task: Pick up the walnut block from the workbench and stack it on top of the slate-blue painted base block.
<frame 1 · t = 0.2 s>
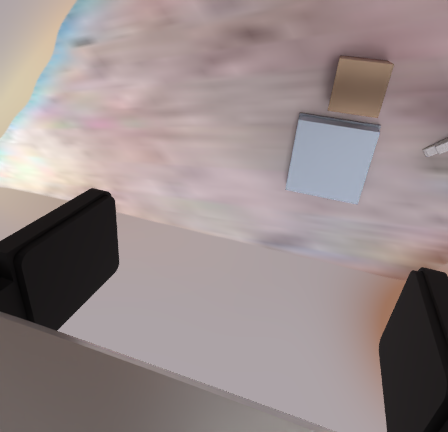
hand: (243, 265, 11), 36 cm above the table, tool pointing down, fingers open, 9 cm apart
base block: (330, 155, 44), on the table
walnut block: (357, 81, 39), on the table
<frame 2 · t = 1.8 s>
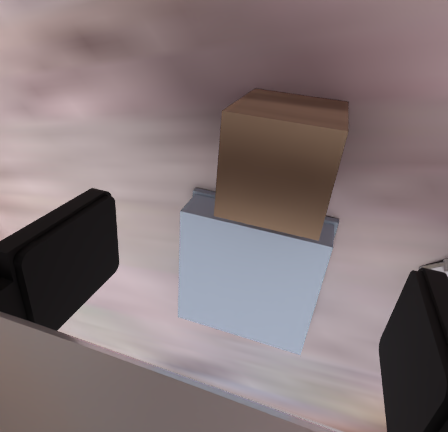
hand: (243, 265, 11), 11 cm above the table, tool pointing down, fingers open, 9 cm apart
base block: (254, 260, 24), on the table
walnut block: (291, 139, 20), on the table
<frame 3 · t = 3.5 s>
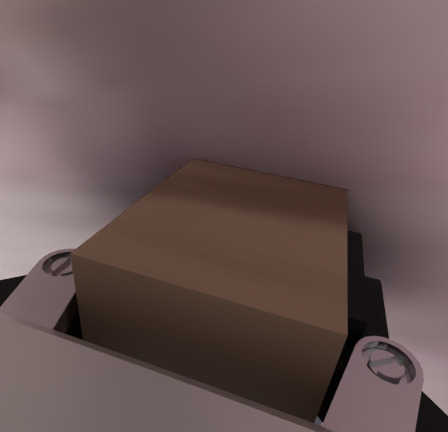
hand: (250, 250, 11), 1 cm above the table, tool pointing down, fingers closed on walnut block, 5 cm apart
walnut block: (255, 239, 12), on the table, touching gripper
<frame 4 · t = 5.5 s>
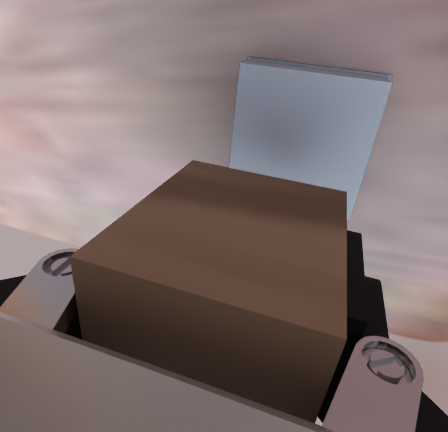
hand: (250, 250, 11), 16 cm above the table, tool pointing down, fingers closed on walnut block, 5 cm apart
base block: (302, 134, 25), on the table
walnut block: (255, 240, 12), point 15 cm above the table, touching gripper
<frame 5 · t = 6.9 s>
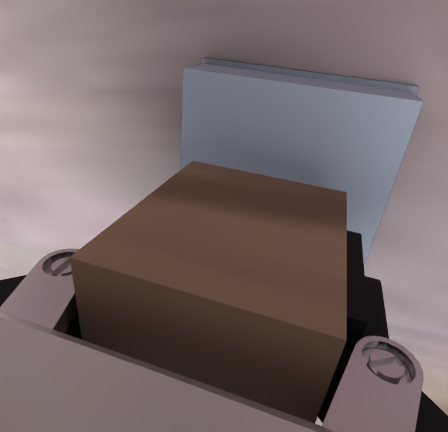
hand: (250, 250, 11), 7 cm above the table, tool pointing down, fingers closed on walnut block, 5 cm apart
base block: (284, 169, 18), on the table
walnut block: (255, 241, 12), point 7 cm above the table, touching gripper
when the fingers open (5 cm above the table, at t = 7.9 s): walnut block stays where it is, resting on base block.
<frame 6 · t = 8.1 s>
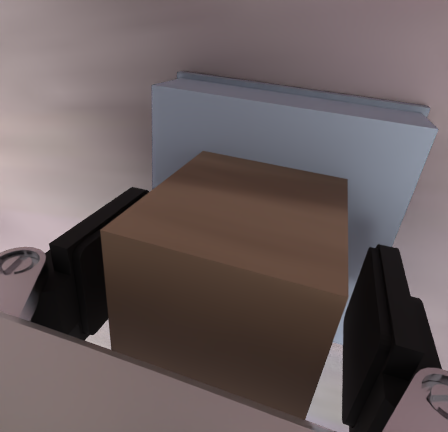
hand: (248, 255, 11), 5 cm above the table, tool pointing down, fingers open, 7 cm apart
base block: (274, 197, 15), on the table
walnut block: (261, 227, 13), point 3 cm above the table, touching base block
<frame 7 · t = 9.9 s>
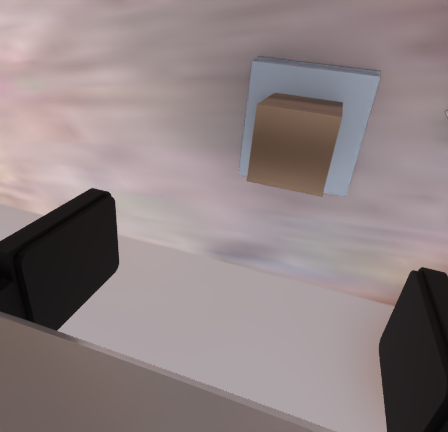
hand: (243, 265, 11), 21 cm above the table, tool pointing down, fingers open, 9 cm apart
base block: (304, 124, 29), on the table
walnut block: (301, 131, 26), point 3 cm above the table, touching base block
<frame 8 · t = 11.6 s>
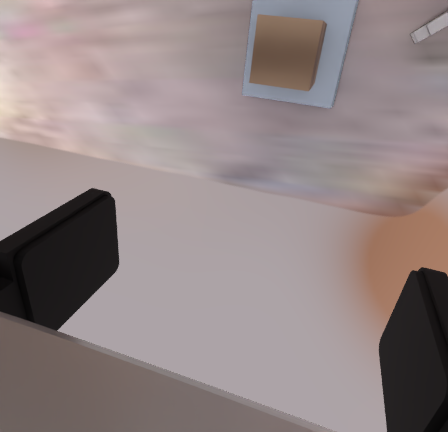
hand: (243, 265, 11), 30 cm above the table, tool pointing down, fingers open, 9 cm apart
base block: (297, 51, 35), on the table
walnut block: (293, 51, 32), point 3 cm above the table, touching base block
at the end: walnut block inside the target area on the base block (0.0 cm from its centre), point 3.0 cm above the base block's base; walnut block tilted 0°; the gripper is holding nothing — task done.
